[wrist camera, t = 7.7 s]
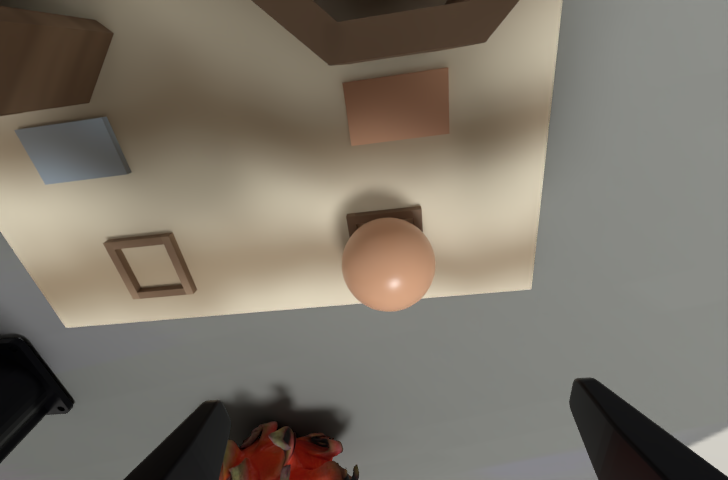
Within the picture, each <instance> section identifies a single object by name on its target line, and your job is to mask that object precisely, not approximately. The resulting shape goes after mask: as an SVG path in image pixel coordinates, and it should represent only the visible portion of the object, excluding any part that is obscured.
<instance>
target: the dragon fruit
mask: <svg viewBox="0 0 728 480" xmlns="http://www.w3.org/2000/svg"><path fill="white" fill-rule="evenodd" d="M276 430H277V422H276V421H271V422H269V423H265V424H261V425H259V427H257V428H255V429H254V430H253V431H252V432H251V436H250V437H248V438H247V440H244V441H243V445H242V446H241V447H240V448H239V447H238V446H237V444H236V443H235V442H234V441H233V440H228V442H227V446H226V451H225V455H224V459H223V464H222V468H221V472H220V477H219V480H358V478H359V471H358V467H357V465H356V466H354V469H353V471H354V472H353V476H352V477H351V476H349V474H348V473H347V470H346V469H344V468H342V467H341V466H339V465H338V463H336V462H335V461H332V459H333V457H334V456H336V455H338V454H340V453H341V452H342V451H343V447H342V444H341V442H339V441H335V440H333V439H334V438H332V440H331V439H328V438H330V437H328V438H326V437H327V436H325V435H324V434H323V433H311V434H309V435H307V436H305V437H299V438H296V432H295V431H294V434H293V432H292V430H291V428H290V427H288V426H285V427H282V428H281V429H279V430H277V431H276ZM261 433H262V434H261ZM260 434H261V438H260V439H259V438H258V437H259V436H260ZM314 436H315V437H316V438H312V437H314ZM335 439H336V438H335Z"/></svg>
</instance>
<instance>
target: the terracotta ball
mask: <svg viewBox="0 0 728 480" xmlns="http://www.w3.org/2000/svg"><path fill="white" fill-rule="evenodd" d="M435 266H436V262H435V255H434V251H433V248H432V246H431V244H430V242H429V240H428V238H427V237H426V236H425V235H424V233H423V232H422V231H421V230H420V229H419V228H417V227H416V226H414V225H413V224H411V223H409V222H407V221H405V220H402V219H398V218H390V217H388V218H379V219H375V220H372V221H369V222H367V223H366V224H364V225H362V226H361V227H360V228H358V229H357V230H356V231H355V232H354V233H353V234H352V236H351V237H350V238H349V240H348V242H347V243H346V245H345V248H344V251H343V255H342V273H343V277H344V281H345V283H346V285H347V287H348V289H349V290H350V292H351V293H352V294H353V296H354V297H355V298H356V299H357V300H358V301H360V302H361V303H363V304H364V305H366V306H368V307H370V308H372V309H375V310H379V311H387V312H388V311H398V310H403V309H405V308H408V307H410V306H412V305H413V304H415V303H416V302H418V301H419V300H420V299H421V298H422V297H423V296H424V295H425V294H426V292H427V291H428V289H429V288H430V286H431V284H432V281H433V278H434V275H435Z"/></svg>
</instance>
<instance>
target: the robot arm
mask: <svg viewBox="0 0 728 480" xmlns="http://www.w3.org/2000/svg"><path fill="white" fill-rule="evenodd" d="M569 403H570V409H571V412H572V414H573V417H574V420H575V422H576V425H577V427H578V430H579V432H580V435H581V437H582V440H583V442H584V445H585V447H586V450H587V453H588V455H589V458H590V460H591V463H592V465H593V468H594V470H595V473H596V475H597V477H598V480H728V477H727V476H726V475H724V474H723V473H722V472H720V471H719V470H718V469H716V468H715V467H714V466H712V465H711V464H710V463H708V462H707V461H705V460H704V459H703V458H701V457H700V456H699V455H697V454H696V453H694V452H693V451H692V450H691V449H689V448H688V447H687V446H685V445H684V444H683V443H681V442H680V441H679V440H677V439H676V438H674V437H673V436H672V435H670V434H669V433H668V432H666V431H665V430H664V429H662V428H661V427H660V426H658V425H657V424H656V423H654V422H653V421H652V420H650V419H649V418H647V417H646V416H645V415H643V414H642V413H641V412H639V411H638V410H637V409H635V408H634V407H633V406H631V405H630V404H629V403H627V402H626V401H624V400H623V399H622V398H620V397H619V396H618V395H616V394H615V393H614V392H612V391H611V390H610V389H608V388H607V387H606V386H604V385H603V384H602V383H600V382H599V381H597V380H596V379H594V378H577V379H575V380H574V382H573V386H572V390H571V395H570V401H569ZM72 407H73V403H72V402H71V401H70V399H69V398H68V397H67V396H66V394H65V393H64V392H63V390H62V389H61V388H60V386H59V385H58V384H57V383H56V381H55V380H54V379H53V377H52V376H51V375H50V373H49V372H48V371H47V370H46V368H45V367H44V366H43V364H42V363H41V362H40V360H39V359H38V358H37V357H36V355H35V354H34V353H33V351H32V350H31V349H30V347H29V346H28V345H27V344H26V343H25V342H24V341H23V340H21V339H18V338H9V339H0V463H1V462H2V461H3V460H4V459H5V458H6V457H7V456H8V455H9V454H10V452H11V451H12V450H13V449H14V448H15V447H16V446H17V445H18V444H19V443H20V442H21V441H22V440H23V439H24V438H25V437H26V435H27V434H28V433H29V432H30V431H31V430H32V429H33V428H34V427H35V426H36V425H37V424H38V423H39V422H40V421H41V420H42V418H43V417H44V416H45V415H50V414H66V413H68V412H69V411H70V410H71V409H72ZM230 428H231V421H230V417H229V415H228V413H227V411H226V409H225V407H224V405H223V403H222V402H221V401H220V400H210V401H205V402H203V403H202V404H201V405H200V406H199V407H198V408H197V409H196V410H195V411H194V412H193V413H192V414H191V415H190V416H189V417H188V418H187V419H185V420H184V421H183V422H182V423H181V424H180V425H179V426H178V427H177V428H176V429H175V430H174V431H173V432H172V433H171V434H170V435H169V436H168V437H167V438H166V439H165V440H164V441H163V442H162V443H161V444H160V445H159V446H158V447H157V448H156V449H155V450H154V451H152V452H151V453H150V454H149V455H148V456H147V457H146V458H145V459H144V460H143V461H142V462H141V463H140V464H139V465H138V466H137V467H136V468H135V469H134V470H133V471H132V472H131V473H130V474H129V475H128V476H127V477H126V478H125V479H124V480H219V477H220V472H221V468H222V464H223V459H224V455H225V451H226V446H227V442H228V437H229V433H230Z"/></svg>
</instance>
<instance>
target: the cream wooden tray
mask: <svg viewBox="0 0 728 480" xmlns="http://www.w3.org/2000/svg"><path fill="white" fill-rule="evenodd" d="M562 1H563V0H0V231H1V233H2V234H3V236H4V237H5V239H6V240H7V242H8V243H9V245H10V246H11V248H12V249H13V251H14V252H15V254H16V255H17V256H18V258H19V259H20V261H21V262H22V264H23V265H24V267H25V268H26V270H27V271H28V273H29V274H30V276H31V277H32V279H33V280H34V281H35V283H36V284H37V286H38V287H39V289H40V290H41V292H42V293H43V295H44V296H45V298H46V299H47V301H48V302H49V303H50V305H51V306H52V308H53V309H54V311H55V312H56V314H57V315H58V317H59V318H60V320H61V321H62V323H63V324H64V326H65V327H66V328H71V327H83V326H95V325H107V324H119V323H131V322H143V321H155V320H167V319H179V318H191V317H203V316H216V315H228V314H240V313H252V312H264V311H276V310H288V309H300V308H312V307H324V306H336V305H348V304H360V303H361V302H360V301H358V300H357V299H356V298H355V297H354V296H353V294H352V293H351V292H350V290H349V289H348V287H347V285H346V283H345V281H344V277H343V273H342V255H343V251H344V248H345V245H346V243H347V242H348V240H349V238H350V237H351V236H352V234H353V233H354V232H355V231H356V230H357V229H358V228H360V227H361V226H362V225H364V224H366V223H367V222H369V221H372V220H375V219H379V218H388V217H390V218H398V219H402V220H405V221H407V222H409V223H411V224H413V225H414V226H416V227H417V228H419V229H420V230H421V231H422V232H423V233H424V235H425V236H426V237H427V238H428V240H429V242H430V244H431V246H432V248H433V251H434V255H435V262H436V266H435V275H434V278H433V281H432V284H431V286H430V288H429V289H428V291H427V292H426V294H425V295H424V296H423V297H422V298H433V297H445V296H457V295H469V294H481V293H493V292H505V291H517V290H529V289H531V287H532V278H533V269H534V259H535V250H536V241H537V232H538V223H539V213H540V204H541V195H542V186H543V176H544V167H545V158H546V149H547V139H548V130H549V121H550V112H551V103H552V93H553V84H554V75H555V66H556V56H557V47H558V38H559V29H560V20H561V10H562Z"/></svg>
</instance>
